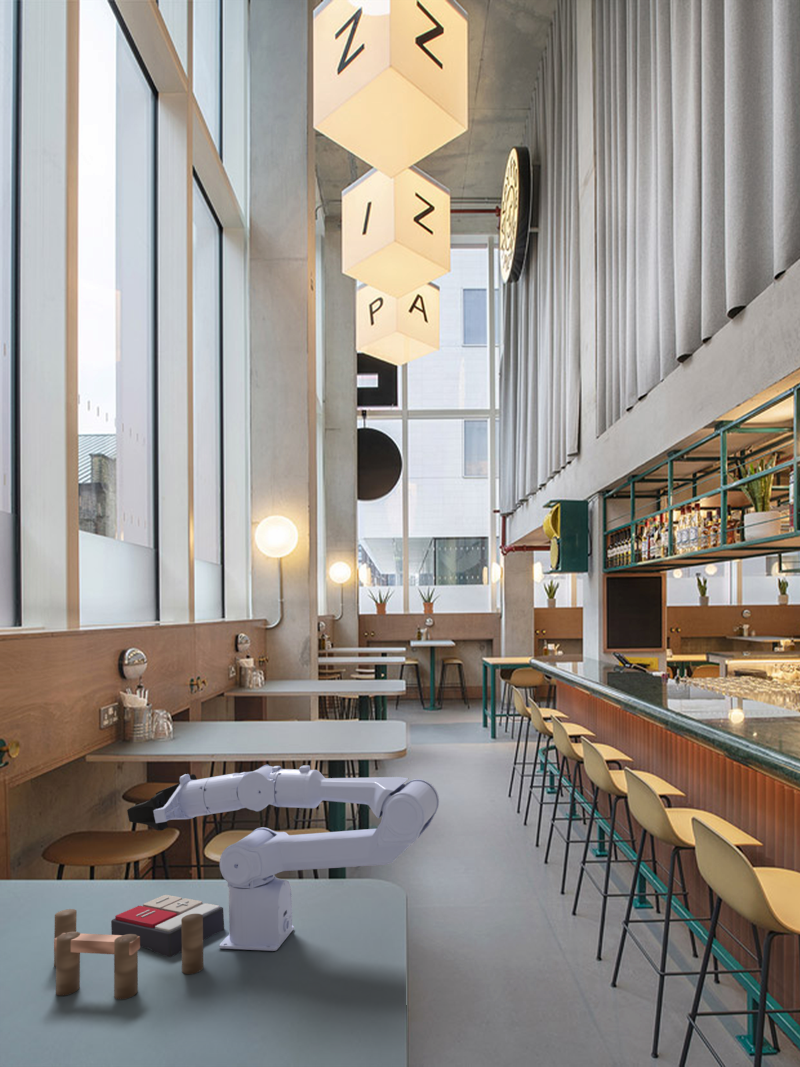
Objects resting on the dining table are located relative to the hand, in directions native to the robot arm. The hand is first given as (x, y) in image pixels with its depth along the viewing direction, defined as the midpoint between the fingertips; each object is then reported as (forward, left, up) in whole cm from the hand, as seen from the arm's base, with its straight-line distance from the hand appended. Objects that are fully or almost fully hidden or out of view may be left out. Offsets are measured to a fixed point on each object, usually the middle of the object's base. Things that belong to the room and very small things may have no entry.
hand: (144, 806), depth 117 cm
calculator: (-5, +1, -20) cm, 21 cm away
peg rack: (-5, +15, -20) cm, 25 cm away
